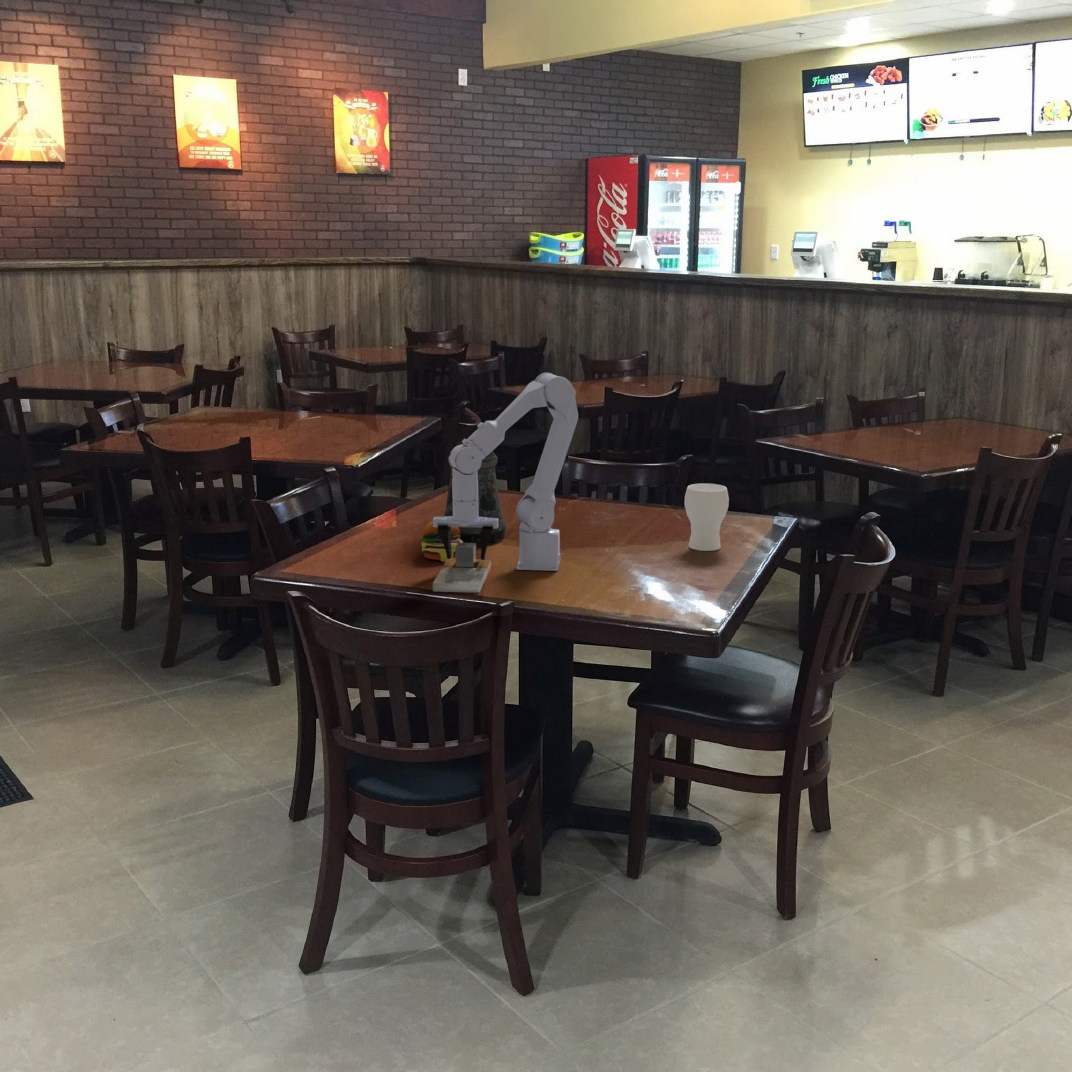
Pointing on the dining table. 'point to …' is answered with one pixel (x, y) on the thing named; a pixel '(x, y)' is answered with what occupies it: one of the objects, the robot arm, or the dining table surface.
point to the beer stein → (482, 502)
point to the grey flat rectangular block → (461, 577)
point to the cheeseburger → (438, 543)
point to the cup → (706, 514)
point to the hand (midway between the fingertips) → (466, 558)
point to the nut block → (465, 555)
